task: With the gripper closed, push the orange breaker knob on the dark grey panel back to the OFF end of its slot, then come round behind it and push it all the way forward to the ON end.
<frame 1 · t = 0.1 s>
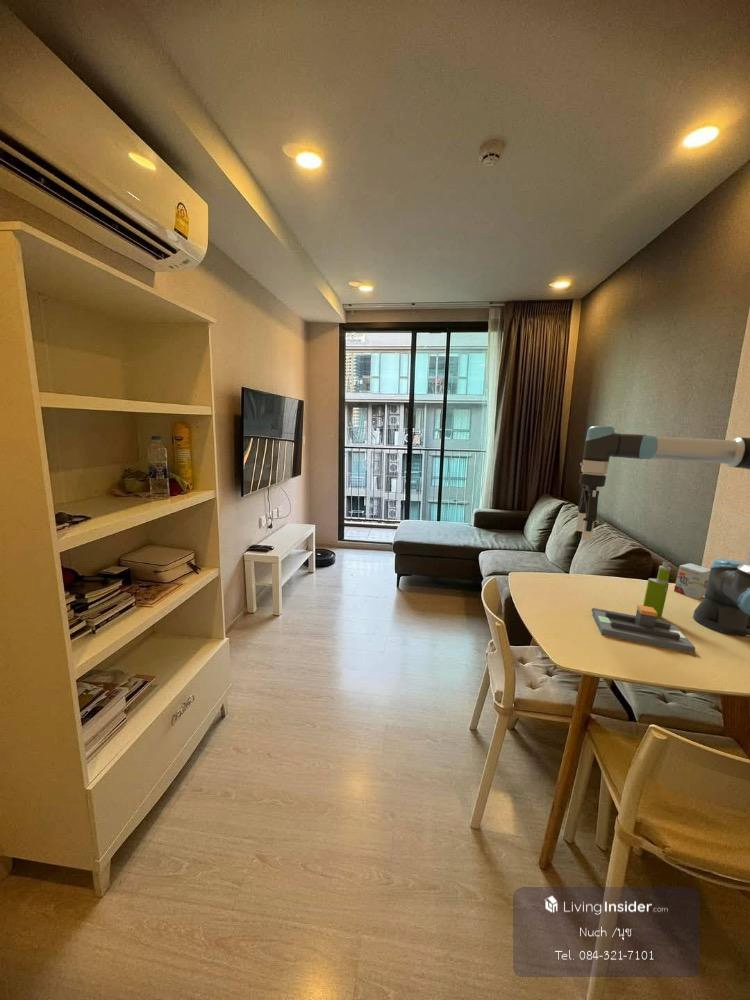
hand: (582, 535, 128), 28 cm above the table, fingers open, 13 cm apart
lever: (645, 617, 119), point 5 cm above the table, slide at 5.0 cm
grey twin rods: (629, 619, 129), on the table
panel: (638, 632, 120), on the table
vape: (651, 614, 134), on the table
ink box: (690, 594, 156), on the table
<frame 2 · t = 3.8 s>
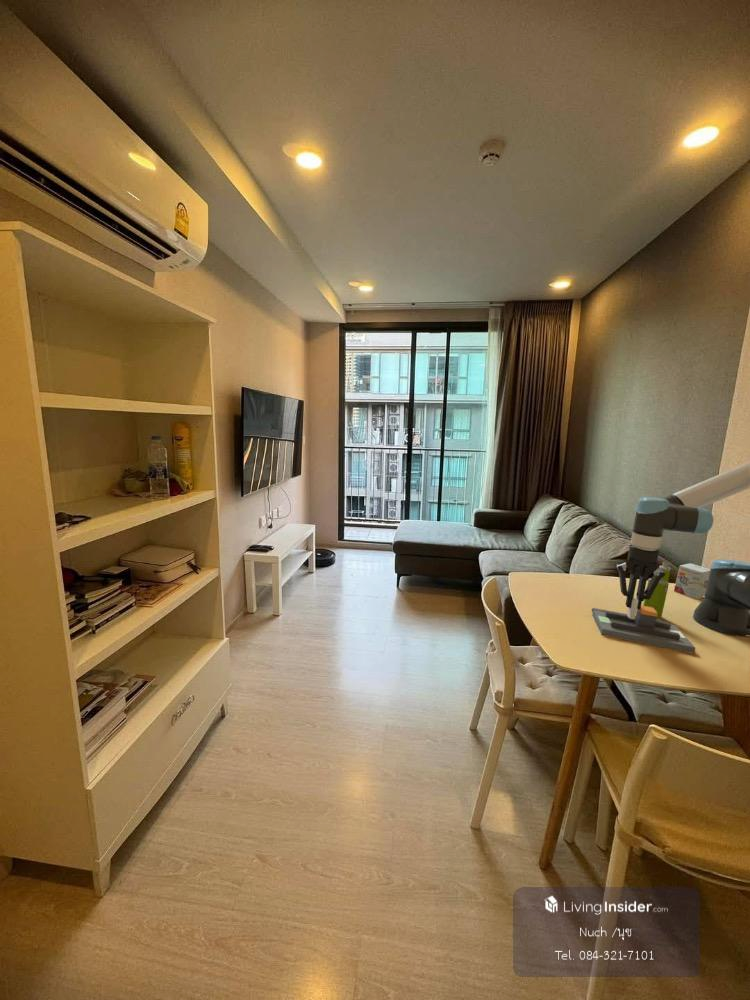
hand: (630, 617, 120), 5 cm above the table, fingers closed
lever: (645, 617, 119), point 5 cm above the table, slide at 5.0 cm, touching gripper
everything else where it was.
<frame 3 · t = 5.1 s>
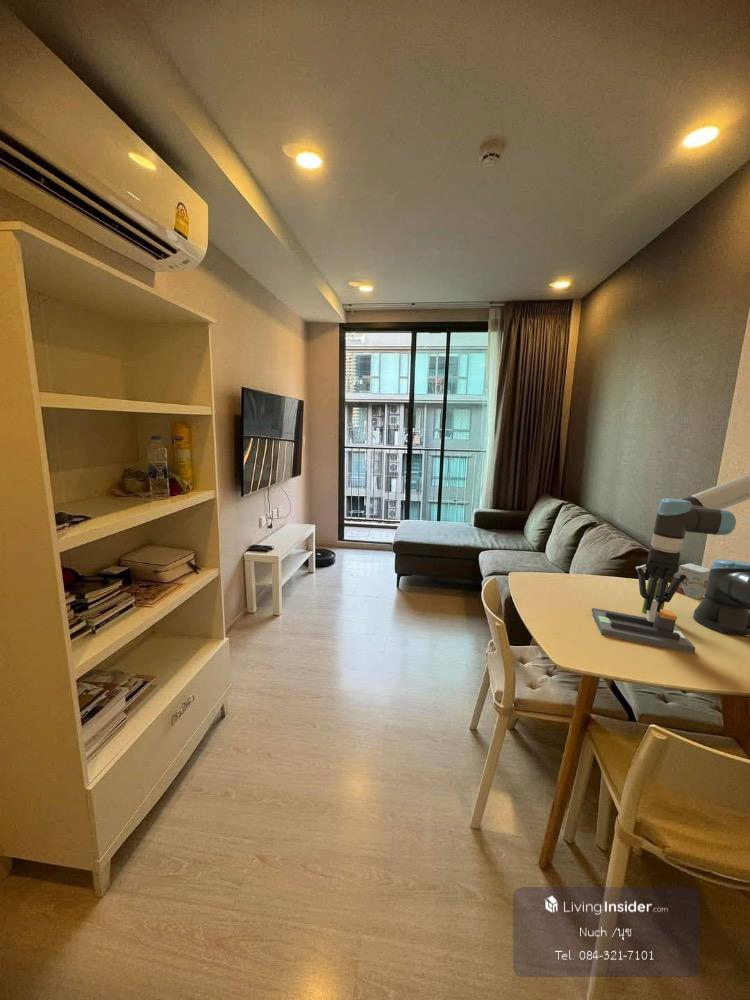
hand: (649, 619, 119), 5 cm above the table, fingers closed
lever: (664, 621, 117), point 5 cm above the table, slide at -0.1 cm, touching gripper
everything else where it was.
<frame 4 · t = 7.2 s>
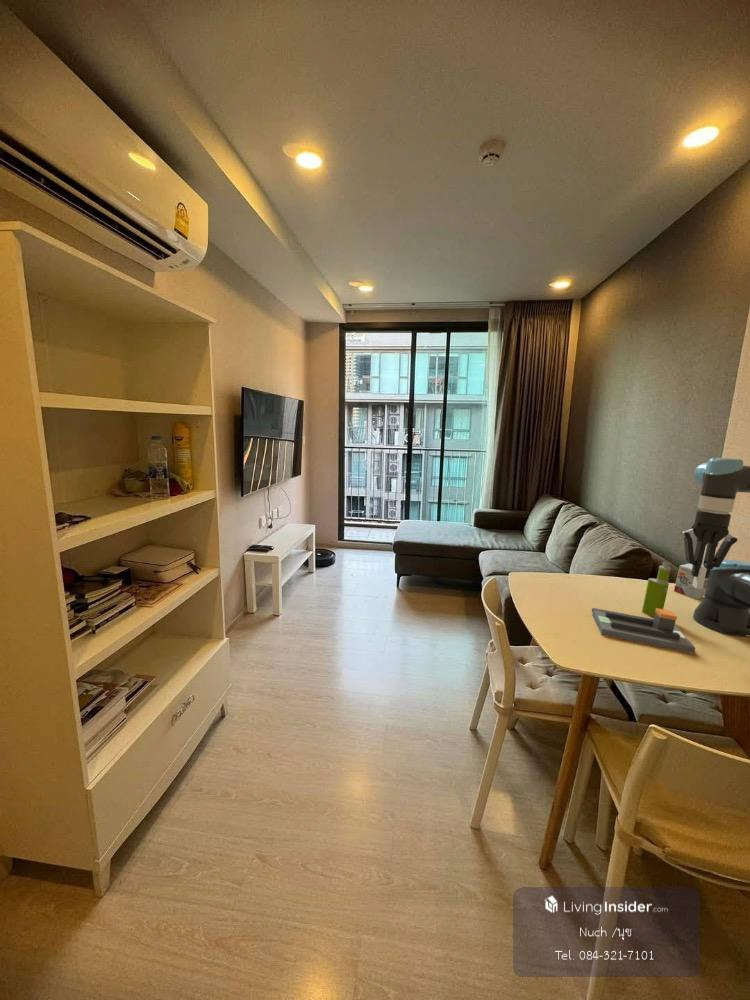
hand: (697, 587, 113), 18 cm above the table, fingers closed
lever: (664, 621, 117), point 5 cm above the table, slide at 0.0 cm
everything else where it was.
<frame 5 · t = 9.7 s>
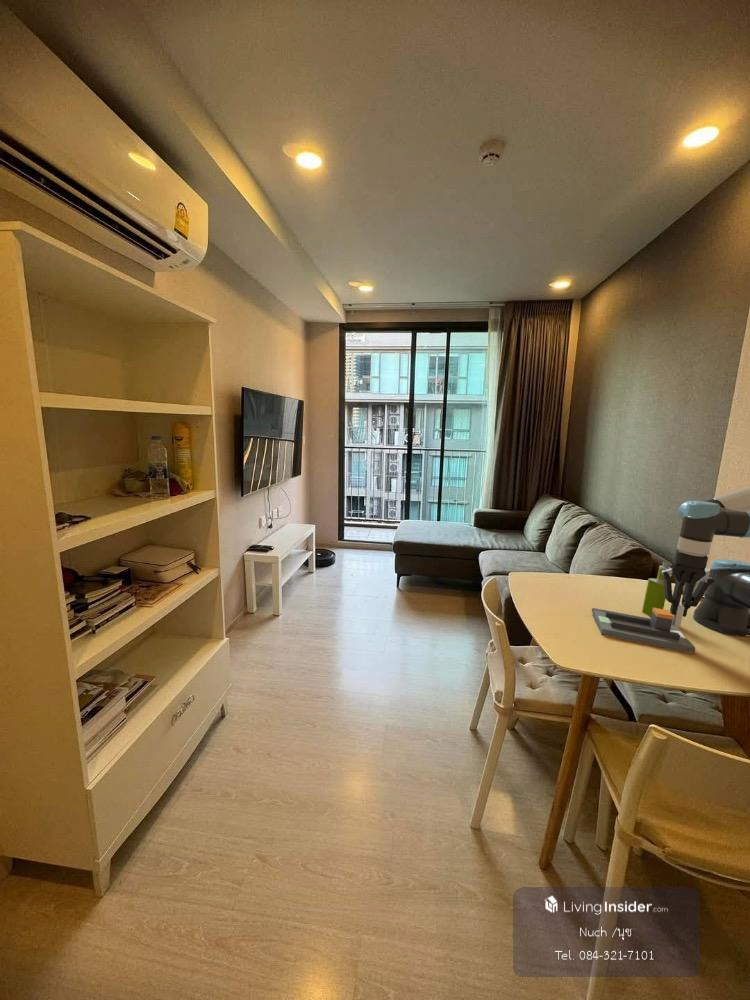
hand: (675, 624, 116), 5 cm above the table, fingers closed
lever: (661, 620, 118), point 5 cm above the table, slide at 0.8 cm, touching gripper
everything else where it was.
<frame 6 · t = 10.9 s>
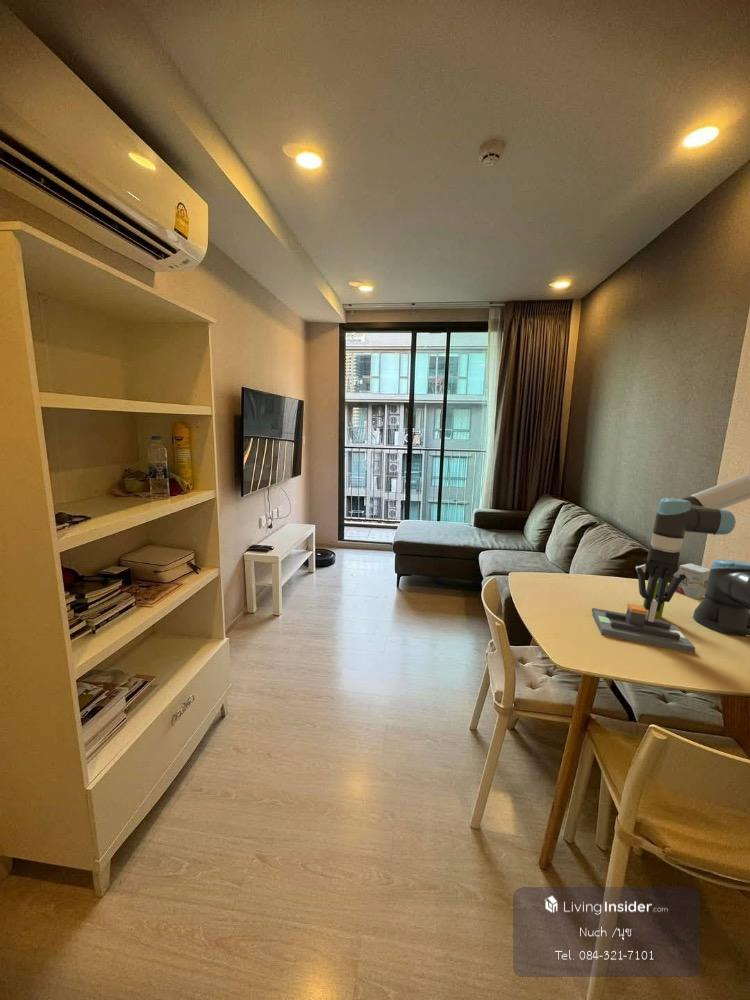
hand: (649, 619, 119), 5 cm above the table, fingers closed
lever: (635, 616, 120), point 5 cm above the table, slide at 7.7 cm, touching gripper
everything else where it was.
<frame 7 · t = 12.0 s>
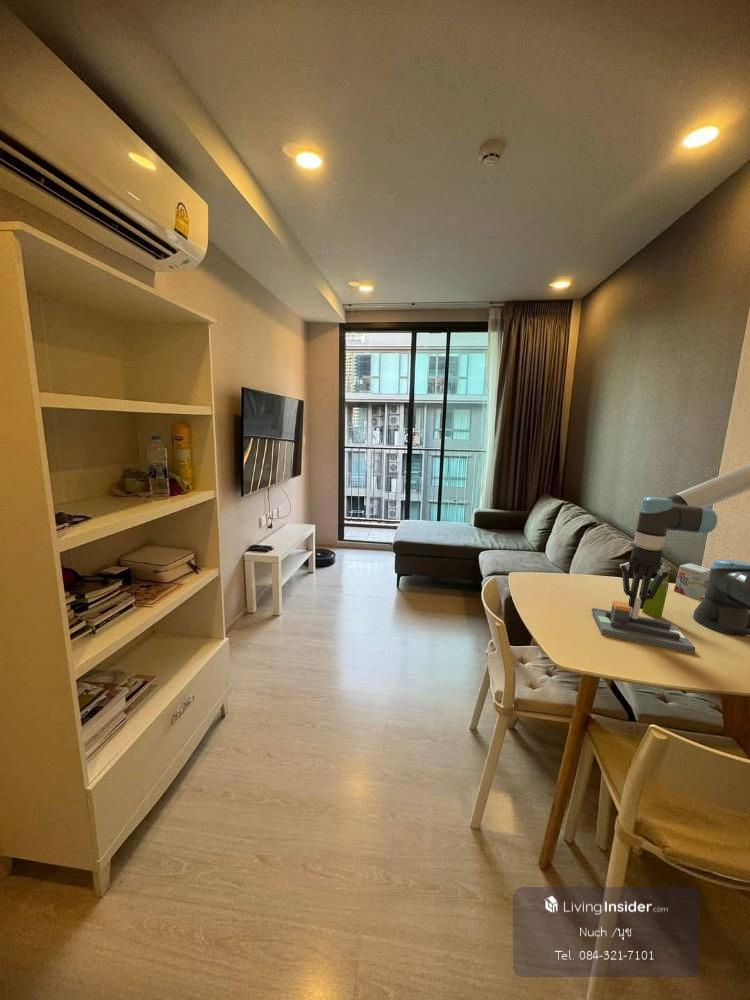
hand: (633, 616, 120), 5 cm above the table, fingers closed
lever: (620, 613, 121), point 5 cm above the table, slide at 12.1 cm, touching gripper
everything else where it was.
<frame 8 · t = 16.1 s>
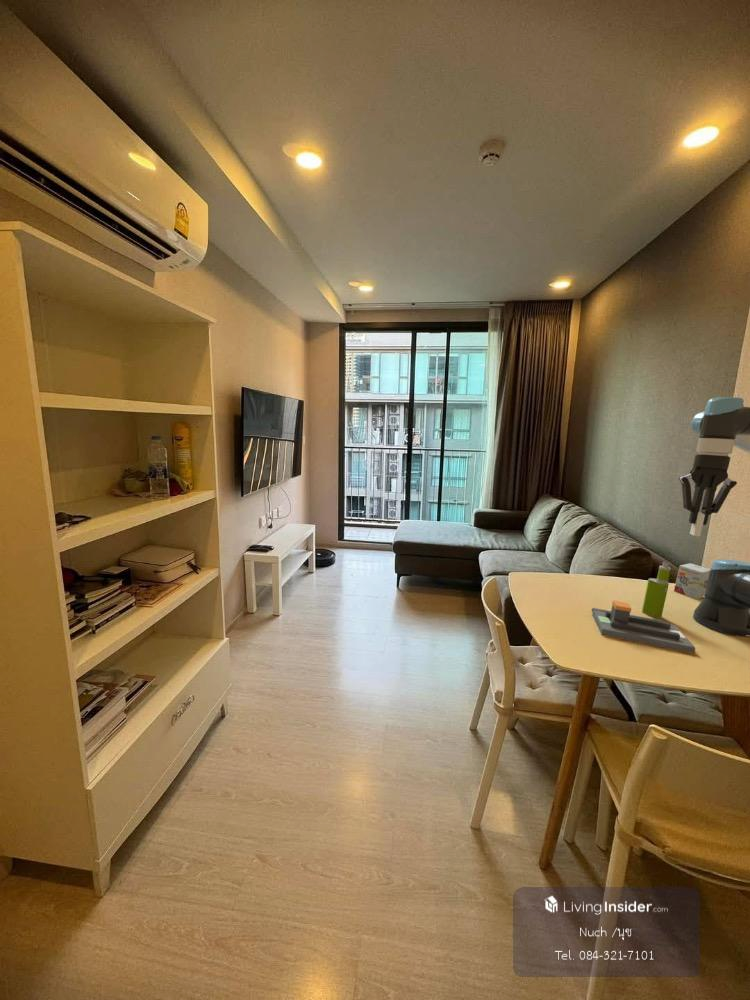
hand: (694, 534, 110), 34 cm above the table, fingers closed
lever: (620, 613, 121), point 5 cm above the table, slide at 12.0 cm
everything else where it was.
at the end: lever slide at 12.0 cm; the gripper is holding nothing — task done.
